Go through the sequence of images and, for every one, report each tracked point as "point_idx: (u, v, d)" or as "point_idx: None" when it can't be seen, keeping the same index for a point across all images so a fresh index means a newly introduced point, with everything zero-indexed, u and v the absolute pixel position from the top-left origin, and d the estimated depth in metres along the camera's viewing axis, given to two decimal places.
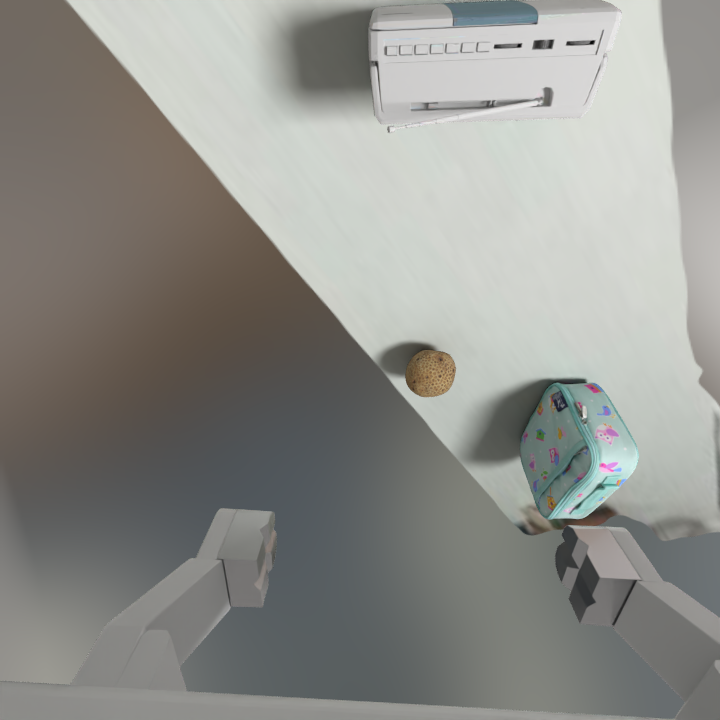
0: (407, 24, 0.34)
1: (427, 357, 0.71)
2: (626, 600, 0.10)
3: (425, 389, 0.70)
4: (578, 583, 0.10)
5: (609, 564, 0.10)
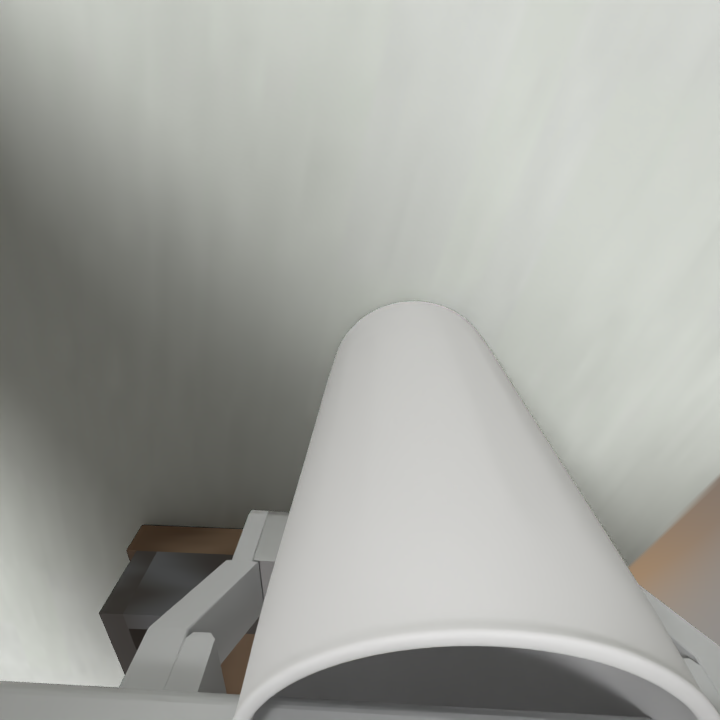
0: None
1: None
2: None
3: None
4: None
5: None
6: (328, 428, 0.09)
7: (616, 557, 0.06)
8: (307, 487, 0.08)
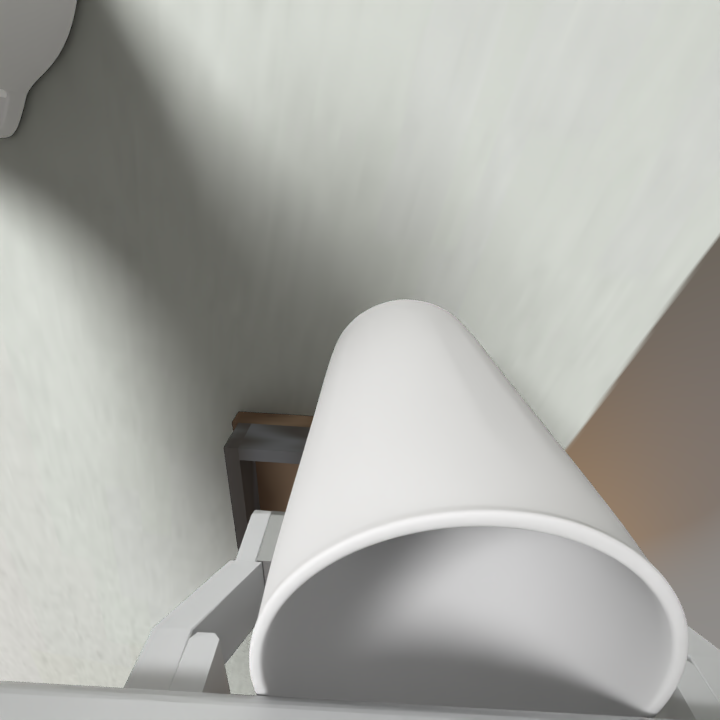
0: None
1: None
2: None
3: None
4: None
5: None
6: (327, 403, 0.10)
7: (584, 478, 0.07)
8: (311, 449, 0.09)
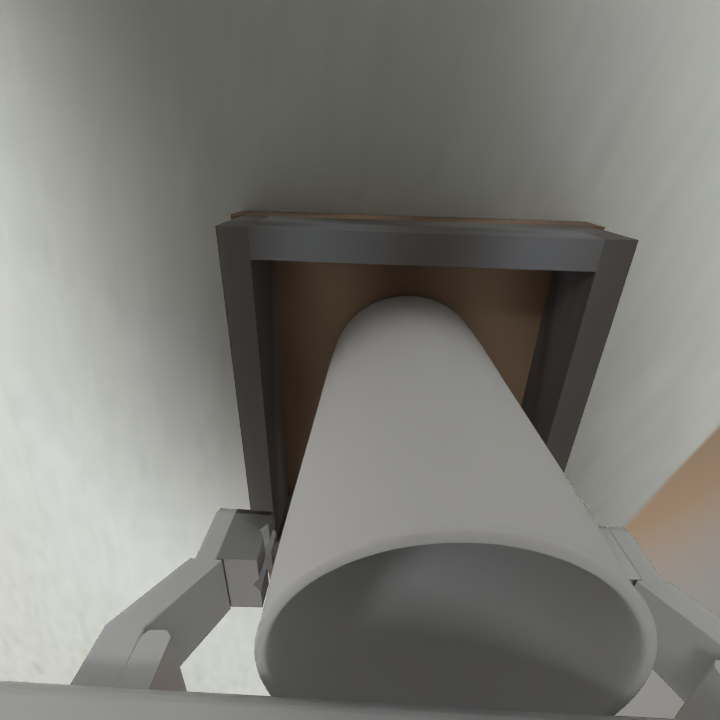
0: None
1: None
2: None
3: None
4: None
5: None
6: (328, 405, 0.11)
7: (567, 489, 0.07)
8: (311, 453, 0.09)
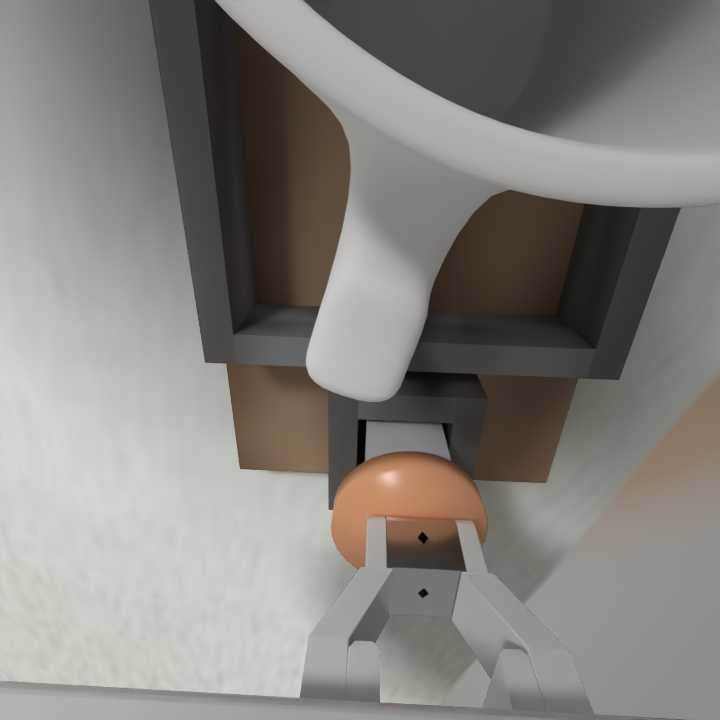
0: None
1: None
2: (457, 592, 0.10)
3: None
4: None
5: (441, 556, 0.10)
6: None
7: None
8: None
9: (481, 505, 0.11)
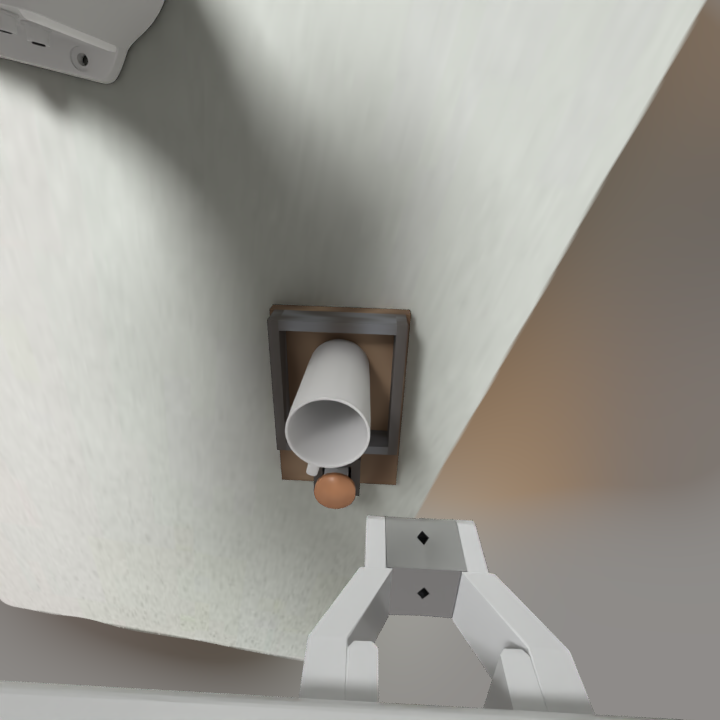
0: None
1: None
2: (457, 592, 0.10)
3: None
4: None
5: (441, 556, 0.10)
6: (304, 379, 0.35)
7: (355, 395, 0.32)
8: (298, 391, 0.34)
9: (352, 486, 0.42)
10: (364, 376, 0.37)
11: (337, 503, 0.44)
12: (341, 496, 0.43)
